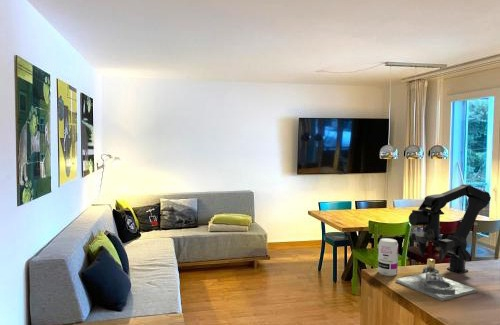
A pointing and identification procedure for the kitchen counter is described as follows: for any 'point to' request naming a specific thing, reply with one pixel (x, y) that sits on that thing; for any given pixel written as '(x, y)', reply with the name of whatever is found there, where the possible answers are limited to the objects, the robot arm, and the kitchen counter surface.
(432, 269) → the gear
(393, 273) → the supplement can
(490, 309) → the kitchen counter surface
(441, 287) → the carrier
